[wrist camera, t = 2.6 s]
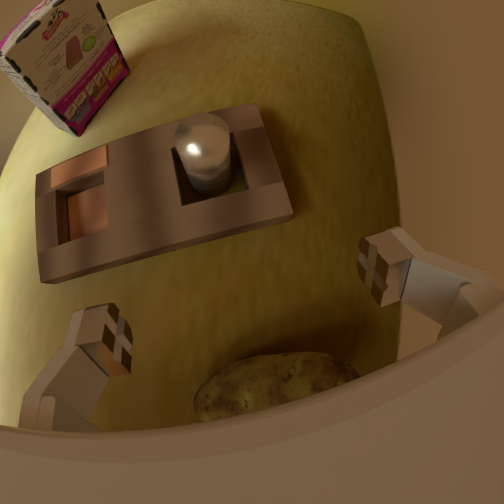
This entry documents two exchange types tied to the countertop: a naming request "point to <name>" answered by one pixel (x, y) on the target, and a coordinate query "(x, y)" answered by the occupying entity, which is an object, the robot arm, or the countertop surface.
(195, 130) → the metal peg
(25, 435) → the robot arm
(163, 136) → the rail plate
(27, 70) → the candy bar box
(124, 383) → the countertop surface
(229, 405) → the potato
